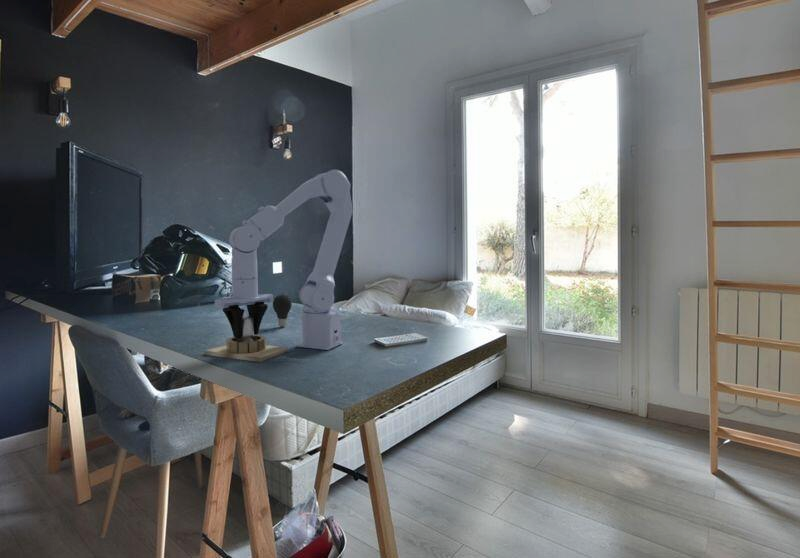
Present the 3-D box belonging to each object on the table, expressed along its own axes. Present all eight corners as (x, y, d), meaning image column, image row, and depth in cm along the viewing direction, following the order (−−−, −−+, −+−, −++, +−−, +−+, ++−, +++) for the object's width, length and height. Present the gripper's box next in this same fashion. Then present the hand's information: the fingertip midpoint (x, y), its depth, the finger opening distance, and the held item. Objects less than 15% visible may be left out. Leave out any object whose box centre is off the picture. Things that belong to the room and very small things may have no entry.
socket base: (287, 351, 111) (287, 337, 111) (260, 362, 102) (260, 346, 102) (234, 345, 117) (234, 331, 117) (204, 354, 108) (204, 339, 107)
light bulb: (287, 329, 137) (286, 296, 137) (269, 328, 139) (269, 295, 138) (295, 325, 143) (294, 293, 142) (278, 325, 144) (277, 293, 143)
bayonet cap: (231, 346, 109) (230, 317, 109) (245, 343, 113) (244, 315, 112) (246, 349, 106) (245, 319, 106) (260, 346, 110) (259, 317, 109)
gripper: (260, 275, 116) (261, 328, 117) (206, 279, 104) (208, 338, 106) (278, 277, 112) (279, 332, 113) (224, 281, 100) (226, 342, 101)
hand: (246, 335), depth 109 cm, fingers closed on bayonet cap, 4 cm apart
